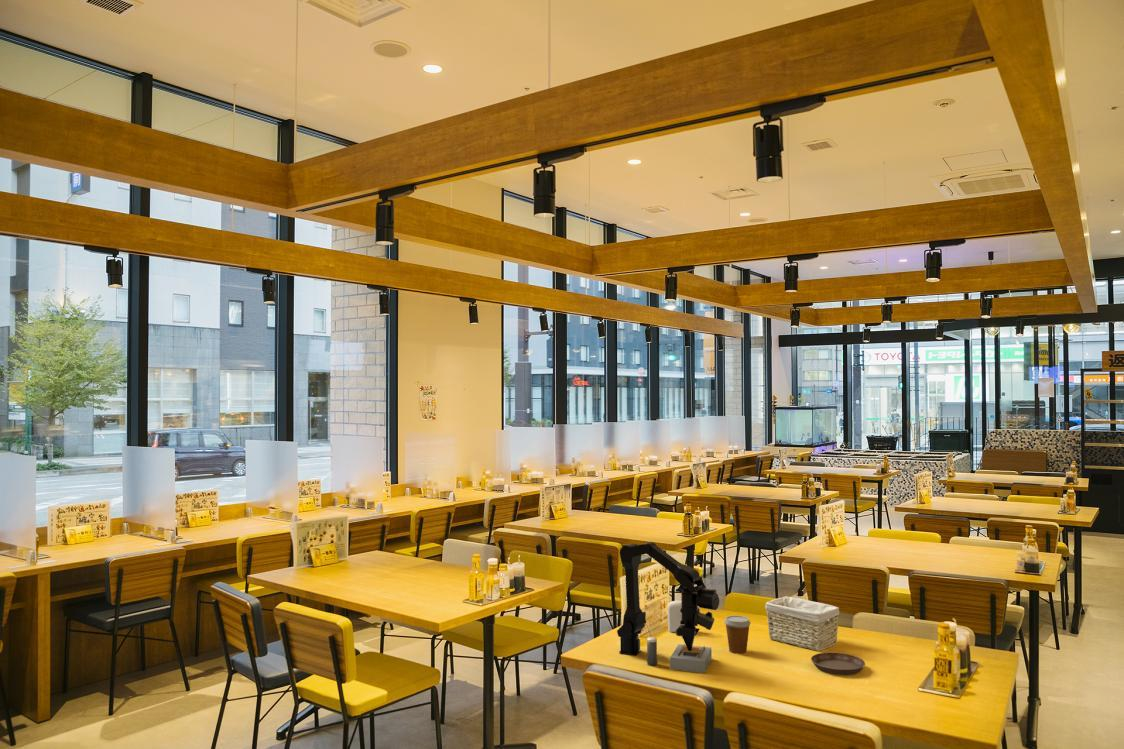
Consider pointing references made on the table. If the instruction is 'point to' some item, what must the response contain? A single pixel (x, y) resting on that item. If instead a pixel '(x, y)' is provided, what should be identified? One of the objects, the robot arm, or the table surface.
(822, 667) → the plant saucer
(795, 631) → the storage basket
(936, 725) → the table surface
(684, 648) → the shutter
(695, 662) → the socket
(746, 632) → the disposable coffee cup
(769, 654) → the table surface
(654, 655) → the grey cylinder
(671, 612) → the photo printer
